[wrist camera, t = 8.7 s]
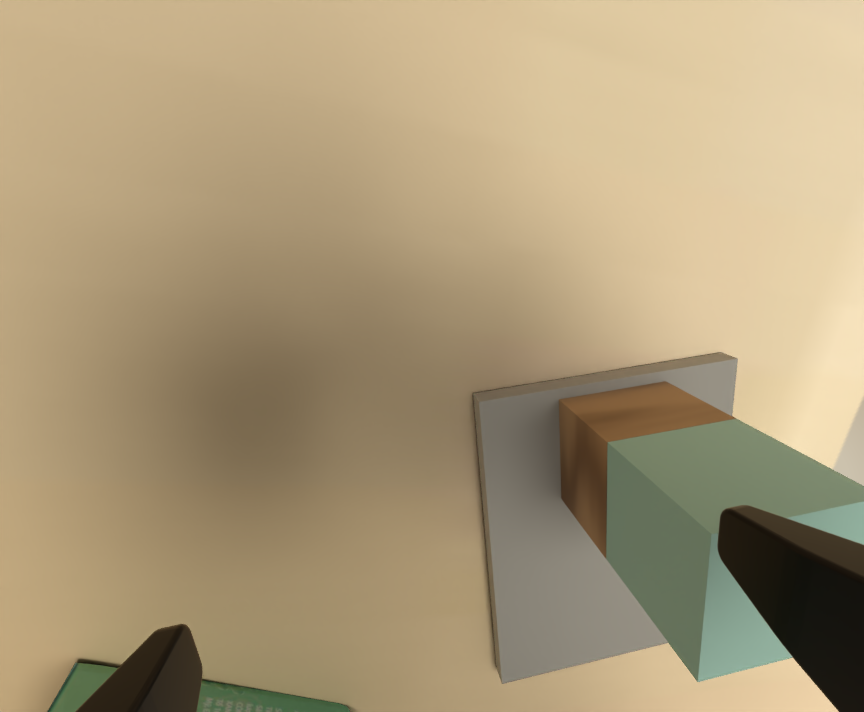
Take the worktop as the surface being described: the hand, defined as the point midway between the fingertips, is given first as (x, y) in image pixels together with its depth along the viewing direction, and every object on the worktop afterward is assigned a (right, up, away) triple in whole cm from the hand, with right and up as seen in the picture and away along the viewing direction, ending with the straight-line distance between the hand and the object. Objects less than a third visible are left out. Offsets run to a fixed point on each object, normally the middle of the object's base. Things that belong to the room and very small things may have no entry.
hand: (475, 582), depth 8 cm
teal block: (+8, -1, +10) cm, 13 cm away
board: (+8, -5, +16) cm, 18 cm away
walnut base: (+7, 0, +14) cm, 15 cm away
